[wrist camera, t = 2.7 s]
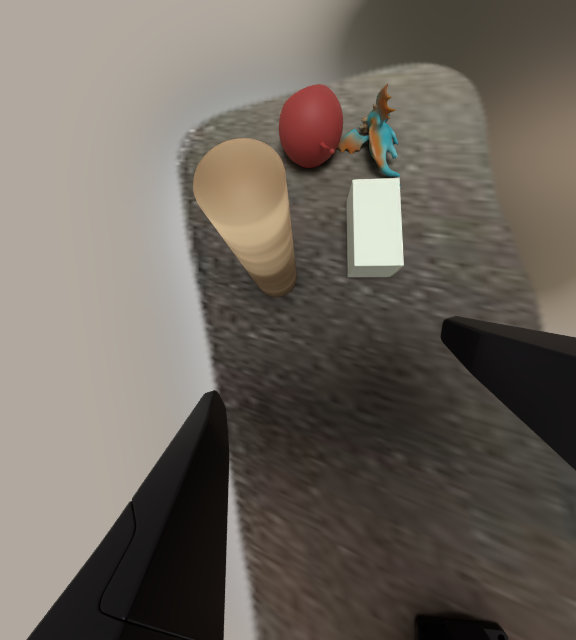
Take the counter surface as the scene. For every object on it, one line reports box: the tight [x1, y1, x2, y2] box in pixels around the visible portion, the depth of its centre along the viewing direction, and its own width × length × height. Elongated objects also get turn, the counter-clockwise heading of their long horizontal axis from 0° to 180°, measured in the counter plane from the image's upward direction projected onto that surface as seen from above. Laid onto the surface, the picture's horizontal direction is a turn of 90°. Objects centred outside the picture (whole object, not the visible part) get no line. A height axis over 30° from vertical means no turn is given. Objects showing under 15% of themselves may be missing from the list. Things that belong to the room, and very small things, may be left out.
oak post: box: [193, 138, 297, 297], centre depth 16 cm, size 4×4×13 cm
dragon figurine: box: [336, 84, 401, 186], centre depth 22 cm, size 7×7×8 cm
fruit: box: [279, 84, 343, 168], centre depth 21 cm, size 6×6×8 cm
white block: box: [347, 178, 404, 277], centre depth 21 cm, size 8×4×3 cm, turn 179°
